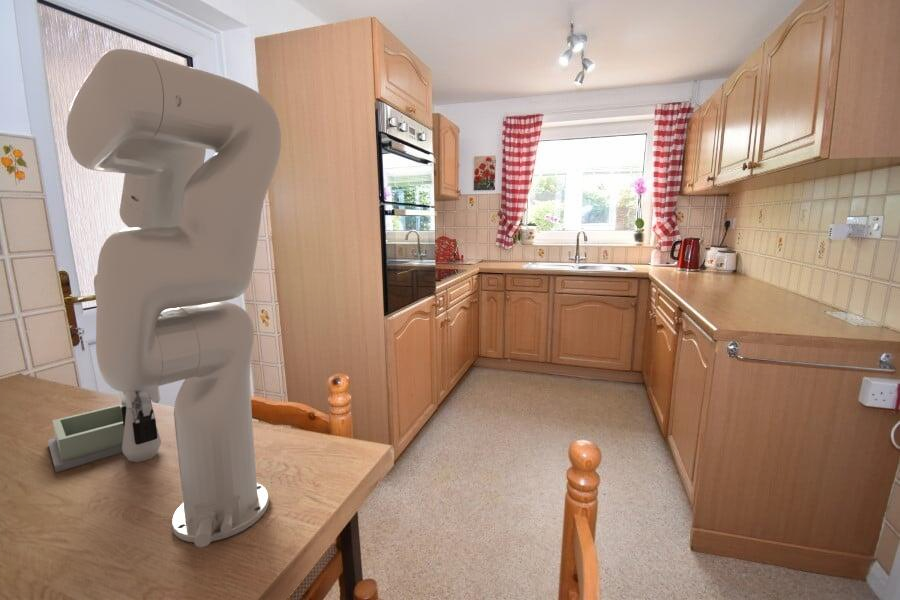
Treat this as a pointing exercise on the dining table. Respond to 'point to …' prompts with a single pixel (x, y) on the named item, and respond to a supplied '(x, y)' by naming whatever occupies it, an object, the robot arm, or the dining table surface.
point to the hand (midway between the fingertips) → (140, 432)
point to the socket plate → (87, 437)
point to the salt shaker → (133, 450)
